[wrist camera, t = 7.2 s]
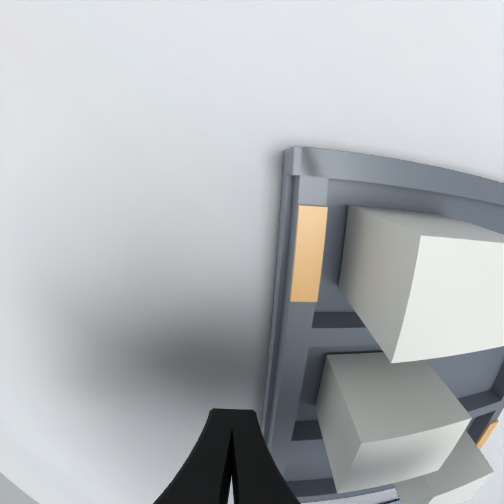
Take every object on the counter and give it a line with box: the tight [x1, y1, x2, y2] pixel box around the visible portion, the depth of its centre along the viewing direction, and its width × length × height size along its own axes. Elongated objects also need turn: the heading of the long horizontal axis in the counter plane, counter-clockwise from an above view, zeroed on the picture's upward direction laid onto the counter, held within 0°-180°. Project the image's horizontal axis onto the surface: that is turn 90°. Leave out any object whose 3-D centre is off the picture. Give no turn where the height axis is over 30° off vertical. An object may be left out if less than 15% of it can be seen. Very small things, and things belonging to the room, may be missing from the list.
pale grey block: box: [393, 430, 494, 504], centre depth 11 cm, size 3×4×4 cm
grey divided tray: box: [261, 146, 504, 503], centre depth 12 cm, size 17×14×3 cm
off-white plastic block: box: [338, 205, 504, 363], centre depth 8 cm, size 3×4×4 cm
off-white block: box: [315, 352, 472, 494], centre depth 9 cm, size 3×4×4 cm
